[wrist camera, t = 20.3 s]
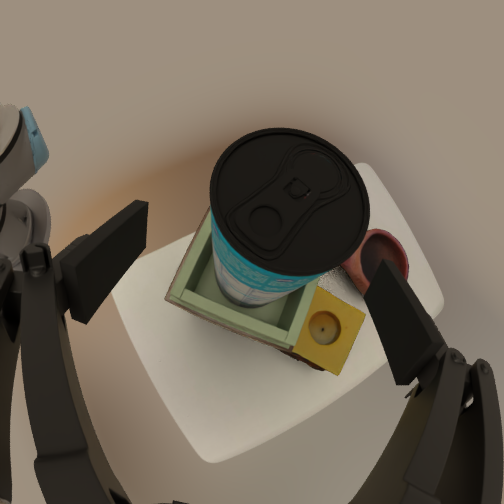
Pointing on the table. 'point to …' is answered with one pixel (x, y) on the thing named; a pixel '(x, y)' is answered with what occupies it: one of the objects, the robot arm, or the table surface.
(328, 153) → the beverage can
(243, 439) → the table surface
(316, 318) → the candle
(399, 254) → the bowl
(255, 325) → the open box
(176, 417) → the table surface
